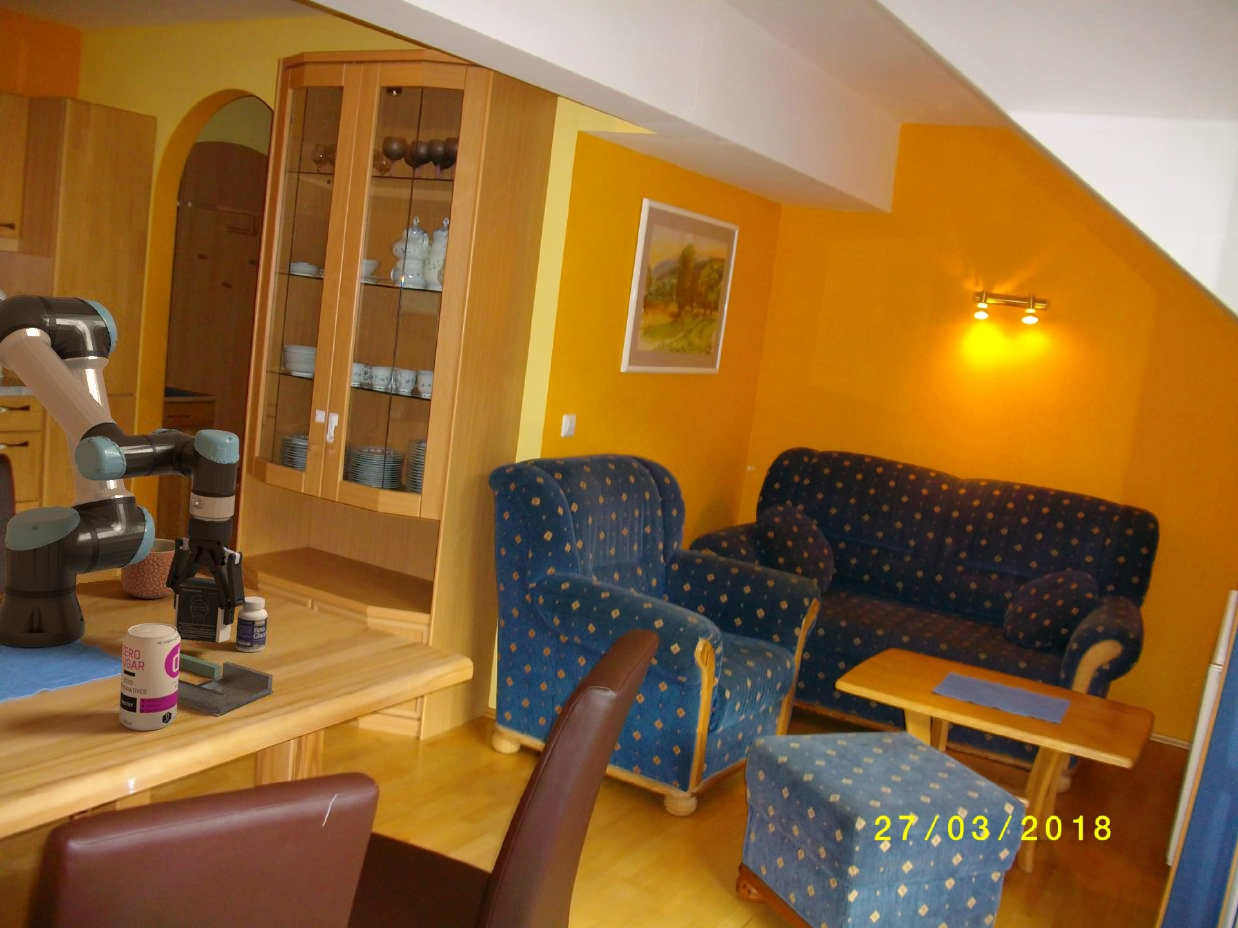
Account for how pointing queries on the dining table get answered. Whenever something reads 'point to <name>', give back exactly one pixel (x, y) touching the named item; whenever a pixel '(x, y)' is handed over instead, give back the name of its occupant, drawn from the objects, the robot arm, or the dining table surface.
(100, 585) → the dining table surface
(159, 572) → the planter
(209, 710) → the keeper
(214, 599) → the box
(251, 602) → the pill bottle
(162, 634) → the supplement can
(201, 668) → the green bar
